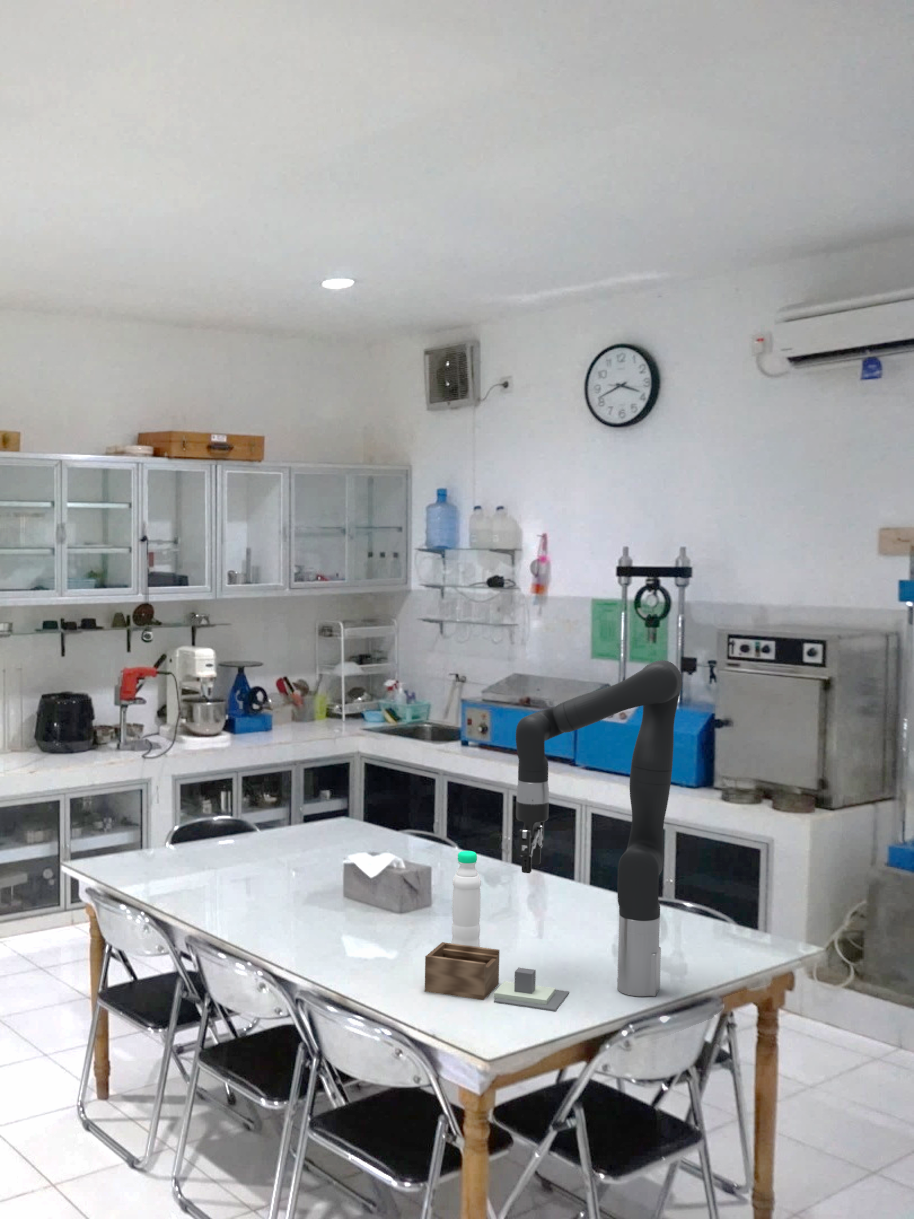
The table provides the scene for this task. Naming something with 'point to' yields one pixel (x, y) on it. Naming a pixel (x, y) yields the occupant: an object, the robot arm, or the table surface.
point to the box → (462, 970)
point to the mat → (550, 1006)
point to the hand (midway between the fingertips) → (531, 868)
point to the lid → (525, 988)
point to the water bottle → (466, 901)
